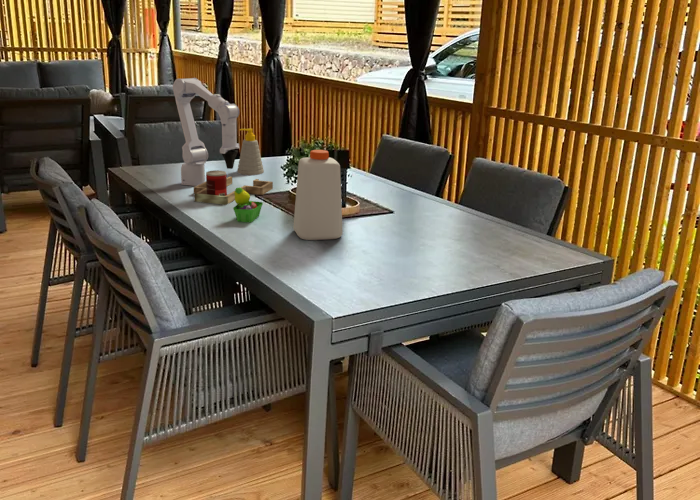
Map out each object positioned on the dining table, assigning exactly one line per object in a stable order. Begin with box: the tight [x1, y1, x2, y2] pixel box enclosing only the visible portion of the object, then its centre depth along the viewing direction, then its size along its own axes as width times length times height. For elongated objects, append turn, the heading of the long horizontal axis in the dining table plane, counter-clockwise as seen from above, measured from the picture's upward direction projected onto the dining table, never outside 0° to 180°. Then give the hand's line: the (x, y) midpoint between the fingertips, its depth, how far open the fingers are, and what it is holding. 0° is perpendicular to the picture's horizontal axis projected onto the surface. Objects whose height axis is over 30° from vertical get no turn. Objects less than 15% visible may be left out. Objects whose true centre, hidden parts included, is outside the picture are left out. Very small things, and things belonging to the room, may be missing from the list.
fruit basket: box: [232, 187, 264, 223], centre depth 235 cm, size 11×9×11 cm
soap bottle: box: [236, 128, 265, 176], centre depth 308 cm, size 12×12×20 cm
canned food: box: [205, 170, 228, 196], centre depth 259 cm, size 8×8×11 cm
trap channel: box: [193, 176, 274, 206], centre depth 270 cm, size 26×34×3 cm
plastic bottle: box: [292, 149, 343, 241], centre depth 218 cm, size 15×15×28 cm
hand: (229, 168), depth 270 cm, fingers closed
